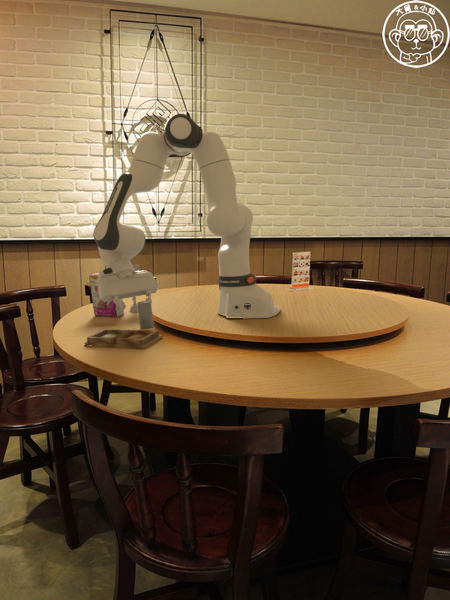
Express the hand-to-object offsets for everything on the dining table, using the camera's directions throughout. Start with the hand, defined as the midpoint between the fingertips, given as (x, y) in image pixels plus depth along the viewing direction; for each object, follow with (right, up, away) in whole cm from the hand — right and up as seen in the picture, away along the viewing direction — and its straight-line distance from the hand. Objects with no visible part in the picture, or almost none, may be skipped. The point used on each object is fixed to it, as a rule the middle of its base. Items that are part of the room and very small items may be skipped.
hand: (136, 305), depth 153 cm
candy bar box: (-16, -4, +26) cm, 31 cm away
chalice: (-6, -3, +31) cm, 32 cm away
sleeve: (+4, -9, -1) cm, 9 cm away
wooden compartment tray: (-2, -11, -10) cm, 15 cm away
